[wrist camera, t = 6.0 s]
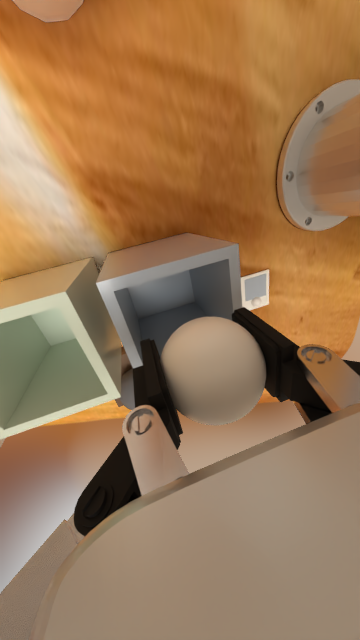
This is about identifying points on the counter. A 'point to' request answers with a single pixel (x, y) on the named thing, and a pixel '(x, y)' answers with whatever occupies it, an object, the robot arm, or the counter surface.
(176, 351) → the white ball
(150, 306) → the slate pot
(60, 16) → the foam cup
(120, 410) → the counter surface
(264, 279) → the card
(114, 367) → the sage pot
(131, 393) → the charcoal ball
